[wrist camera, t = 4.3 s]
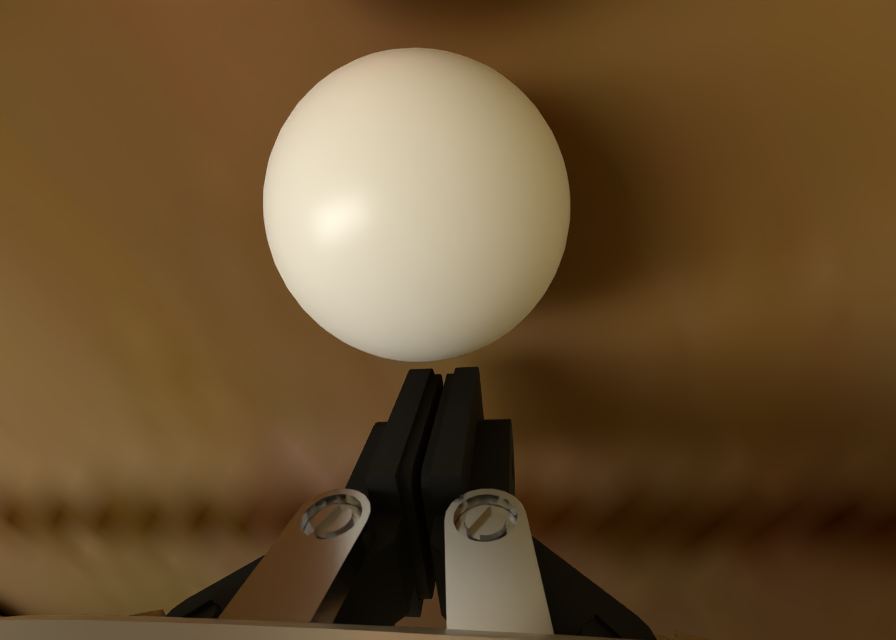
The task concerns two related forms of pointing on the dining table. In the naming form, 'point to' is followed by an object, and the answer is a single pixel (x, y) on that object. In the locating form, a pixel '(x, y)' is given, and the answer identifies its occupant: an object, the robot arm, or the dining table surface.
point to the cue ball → (416, 204)
